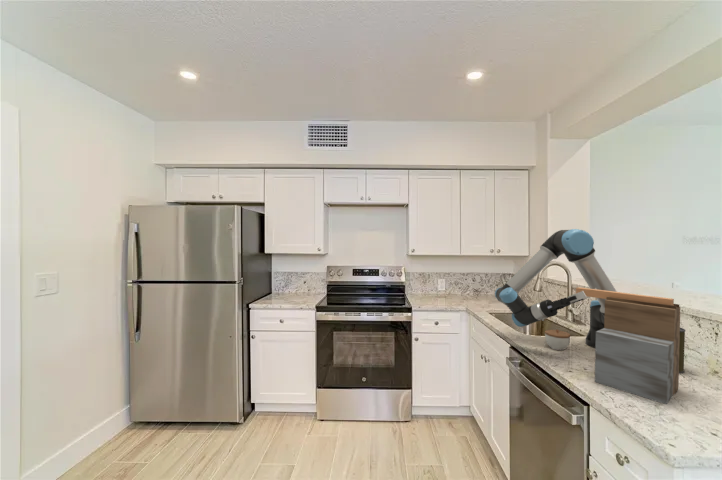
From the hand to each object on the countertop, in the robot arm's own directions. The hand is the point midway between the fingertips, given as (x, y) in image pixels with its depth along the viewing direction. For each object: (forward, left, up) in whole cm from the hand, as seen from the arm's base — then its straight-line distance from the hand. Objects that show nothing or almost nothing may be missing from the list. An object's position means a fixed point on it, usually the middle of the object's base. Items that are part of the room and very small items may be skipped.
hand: (591, 292), depth 134 cm
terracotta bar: (-1, +10, -2) cm, 10 cm away
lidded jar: (-16, -19, -32) cm, 41 cm away
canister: (-28, +19, -32) cm, 46 cm away
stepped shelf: (+4, +16, -32) cm, 36 cm away
